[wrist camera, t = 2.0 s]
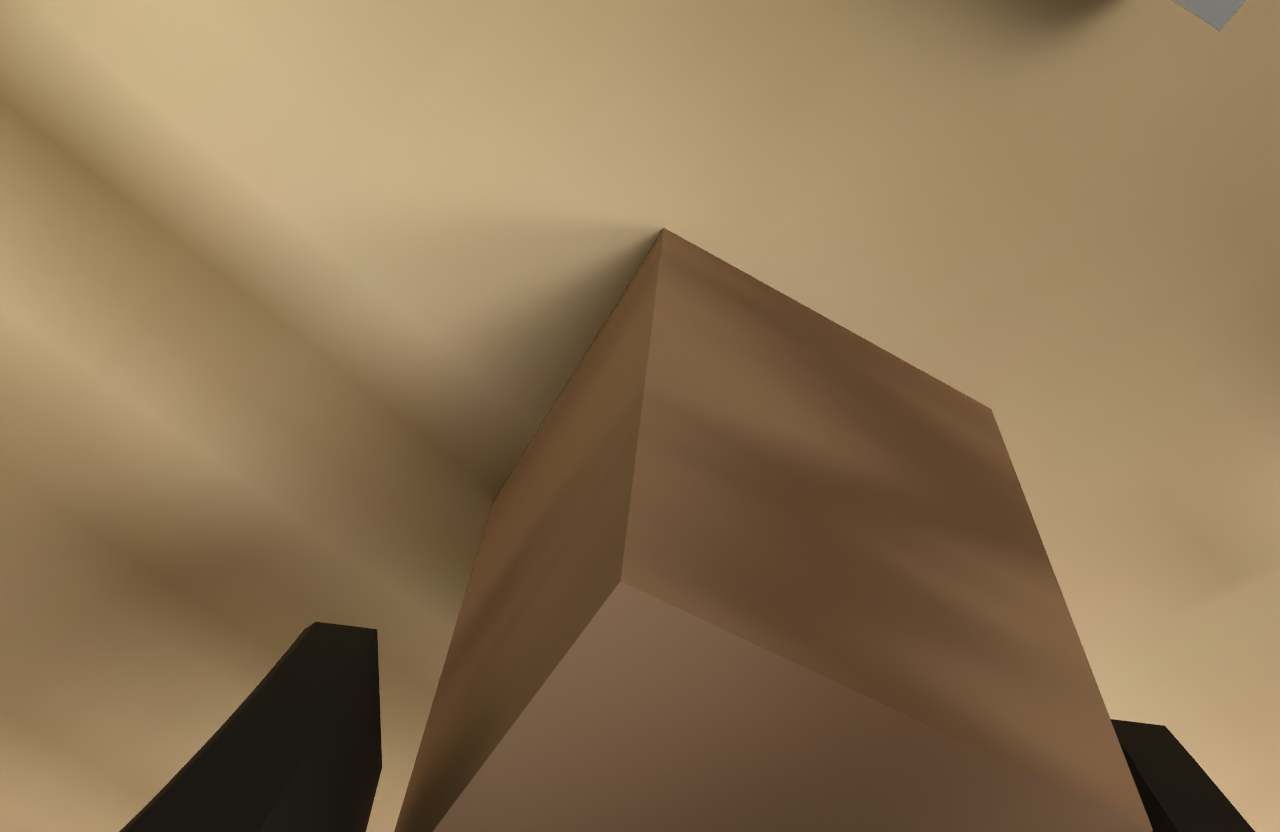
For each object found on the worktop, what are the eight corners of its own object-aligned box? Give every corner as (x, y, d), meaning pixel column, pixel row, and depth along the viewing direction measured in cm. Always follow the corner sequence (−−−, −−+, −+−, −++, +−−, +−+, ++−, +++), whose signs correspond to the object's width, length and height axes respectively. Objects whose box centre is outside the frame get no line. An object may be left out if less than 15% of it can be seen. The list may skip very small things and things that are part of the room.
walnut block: (990, 408, 14) (1154, 830, 9) (781, 639, 17) (808, 1080, 11) (664, 226, 13) (620, 581, 8) (492, 501, 16) (369, 916, 10)
